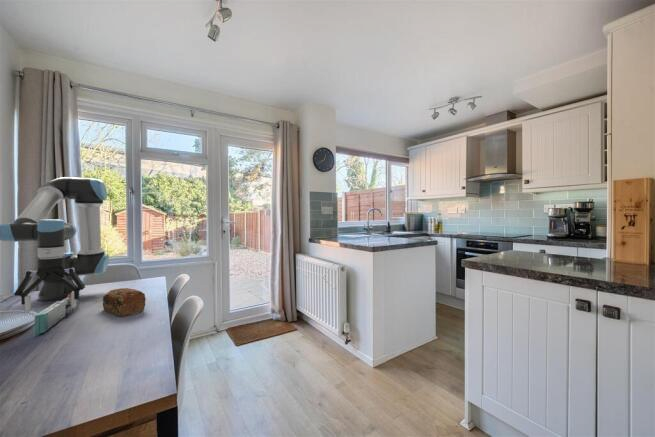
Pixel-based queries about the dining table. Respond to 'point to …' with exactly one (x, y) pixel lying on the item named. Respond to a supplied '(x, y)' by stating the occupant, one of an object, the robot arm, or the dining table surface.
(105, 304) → the bread
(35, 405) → the dining table surface
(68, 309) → the base
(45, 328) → the jaw
